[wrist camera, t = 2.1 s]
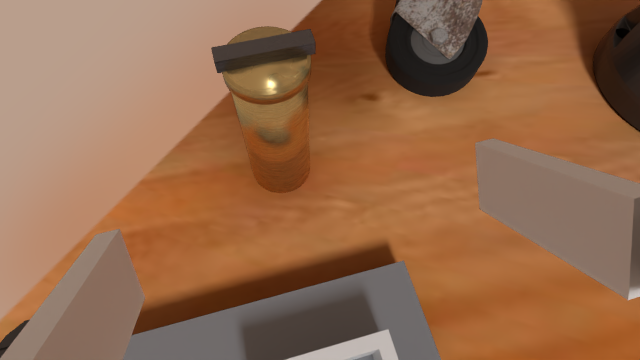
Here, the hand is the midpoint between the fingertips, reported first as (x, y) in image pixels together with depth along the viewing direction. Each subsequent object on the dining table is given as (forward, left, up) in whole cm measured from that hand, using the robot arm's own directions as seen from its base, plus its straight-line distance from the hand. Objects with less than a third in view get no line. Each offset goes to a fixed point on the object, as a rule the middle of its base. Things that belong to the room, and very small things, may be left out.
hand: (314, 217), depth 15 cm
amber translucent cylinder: (0, -10, -14) cm, 18 cm away
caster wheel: (-17, -19, -15) cm, 29 cm away
